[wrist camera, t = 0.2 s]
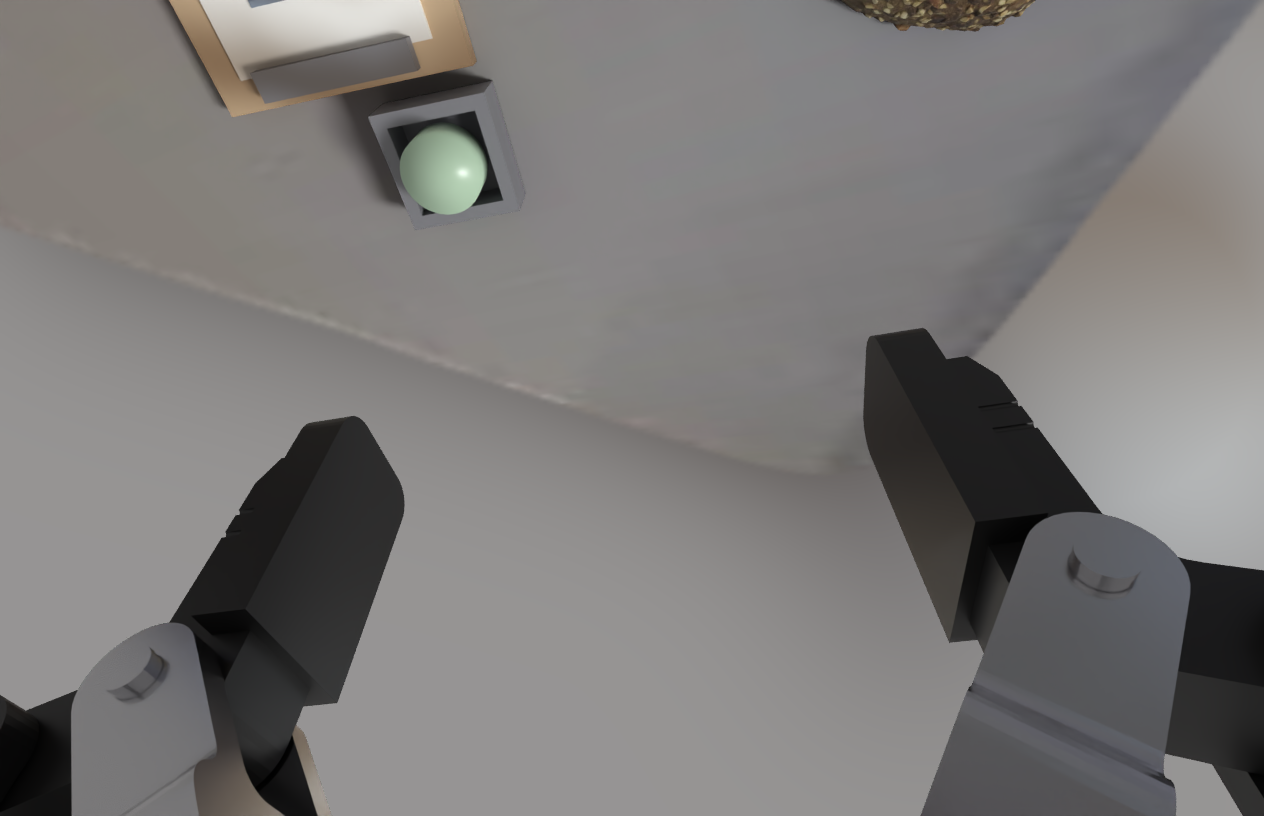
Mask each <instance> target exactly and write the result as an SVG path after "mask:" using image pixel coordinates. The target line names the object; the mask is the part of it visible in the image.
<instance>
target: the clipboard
mask: <svg viewBox="0 0 1264 816" xmlns="http://www.w3.org/2000/svg"><path fill="white" fill-rule="evenodd" d="M169 1H170V3H171V5H172V6H173V8H174V10H175V12H176V14H177V16H178V18H179V19H180V21H181V23H182V25H183V27H184V29H185V30H186V32H187V34H188V36H189V38H190V40H191V42H192V43H193V45H194V47H195V49H196V51H197V53H198V55H199V56H200V58H201V60H202V62H203V64H204V66H205V67H206V69H207V71H208V73H209V75H210V77H211V79H212V80H213V82H214V84H215V86H216V88H217V90H218V92H219V93H220V95H221V97H222V99H223V101H224V103H225V104H226V106H227V108H228V110H229V112H230V114H231V116H232V117H236V116H240V115H245V114H250V113H254V112H259V111H264V110H268V109H273V108H278V107H282V106H287V105H292V104H296V103H301V102H306V101H310V100H315V99H319V98H324V97H329V96H333V95H338V94H343V93H347V92H352V91H357V90H361V89H366V88H371V87H375V86H380V85H385V84H389V83H394V82H399V81H403V80H408V79H412V78H417V77H422V76H426V75H431V74H436V73H440V72H445V71H450V70H454V69H459V68H464V67H468V66H473V65H474V64H475V63H476V57H475V54H474V51H473V47H472V44H471V41H470V38H469V34H468V31H467V28H466V24H465V21H464V18H463V14H462V11H461V8H460V5H459V1H458V0H169Z"/></svg>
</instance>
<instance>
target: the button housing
mask: <svg viewBox="0 0 1264 816" xmlns="http://www.w3.org/2000/svg"><path fill="white" fill-rule="evenodd" d="M368 118H369V121H370V123H371V126H372V128H373V130H374V133H375V135H376V138H377V140H378V142H379V145H380V147H381V150H382V152H383V154H384V157H385V159H386V162H387V164H388V166H389V169H390V171H391V174H392V176H393V178H394V181H395V183H396V186H397V188H398V190H399V193H400V195H401V198H402V200H403V202H404V205H405V207H406V210H407V212H408V214H409V217H410V219H411V222H412V224H413V226H414V229H415V230H419V229H425V228H430V227H435V226H441V225H446V224H451V223H457V222H462V221H467V220H473V219H478V218H483V217H489V216H494V215H499V214H505V213H510V212H515V211H520V209H521V206H522V203H523V200H524V197H525V194H526V193H525V190H524V186H523V183H522V179H521V176H520V173H519V169H518V166H517V162H516V159H515V156H514V152H513V149H512V145H511V142H510V139H509V135H508V132H507V128H506V125H505V122H504V118H503V115H502V111H501V108H500V105H499V101H498V98H497V94H496V91H495V88H494V84H493V81H488V82H483V83H478V84H474V85H469V86H464V87H460V88H455V89H450V90H445V91H441V92H436V93H431V94H426V95H422V96H417V97H412V98H408V99H403V100H398V101H393V102H389V103H384V104H382V105H381V106H380V107H379V108H377V109H376V110H375V111H374V112H373V113H372V114H371V115H369V116H368ZM440 122H444V123H452V124H455V125H458V126H460V127H462V128H464V129H466V130H467V131H468V132H470V133H471V134H472V135H473V136H474V137H475V138H476V139H477V140H478V141H479V143H480V144H481V146H482V148H483V149H484V152H485V154H486V158H487V163H488V173H487V178H486V181H485V183H484V185H483V187H482V189H481V191H480V193H479V195H478V197H477V199H476V201H475V202H474V203H473V204H472V206H470V207H469V208H468V209H466V210H465V211H462V212H460V213H457V214H450V215H446V214H439V213H435V212H432V211H429V210H428V209H426V208H424V207H422V206H421V205H419V204H418V203H417V202H416V201H415V200H414V199H413V198H412V197H411V196H410V194H409V193H408V192H407V190H406V188H405V186H404V184H403V182H402V179H401V175H400V160H401V156H402V153H403V151H404V150H405V148H406V147H407V145H408V144H409V143H410V142H411V141H412V139H413V138H414V137H415V136H416V135H417V134H418V132H420V131H421V130H422V129H423V128H425V127H426V126H428V125H430V124H434V123H440Z"/></svg>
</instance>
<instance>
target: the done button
mask: <svg viewBox="0 0 1264 816" xmlns="http://www.w3.org/2000/svg"><path fill="white" fill-rule="evenodd" d="M487 173H488V163H487V158H486V154H485V152H484V149H483V148H482V146H481V144H480V143H479V141H478V140H477V139H476V138H475V137H474V136H473V135H472V134H471V133H470V132H468V131H467V130H466V129H464V128H462V127H460V126H458V125H455V124H452V123H444V122H440V123H434V124H430V125H428V126H426V127H425V128H423V129H422V130H421V131H420V132H418V134H417V135H416V136H415V137H414V138H413V139H412V141H411V142H410V143H409V144H408V145H407V147H406V148H405V150H404V151H403V153H402V156H401V160H400V175H401V179H402V182H403V184H404V186H405V188H406V190H407V192H408V193H409V194H410V196H411V197H412V198H413V199H414V200H415V201H416V202H417V203H418V204H419V205H421V206H422V207H424V208H426V209H428V210H429V211H432V212H435V213H439V214H446V215H450V214H457V213H460V212H462V211H465V210H466V209H468V208H469V207H470V206H472V204H473V203H474V202H475V201H476V199H477V197H478V195H479V193H480V191H481V189H482V187H483V185H484V183H485V181H486V178H487Z"/></svg>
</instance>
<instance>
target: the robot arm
mask: <svg viewBox="0 0 1264 816" xmlns="http://www.w3.org/2000/svg"><path fill="white" fill-rule="evenodd" d="M1017 402H1018V401H1017V400H1016V398H1015V397H1014V396H1013V394H1012V393H1011V391H1010V390H1009V389H1008V387H1007V386H1006V385H1005V384H1004V382H1003V381H1002V379H1001V378H1000V377H999V376H998V375H997V374H995V373H993V372H992V371H990V370H989V369H987V368H986V367H984V366H982V365H981V364H979V363H977V362H976V361H974V360H973V359H971V358H969V357H968V356H965V357H959V358H952V359H946V358H945V356H944V355H943V353H942V352H941V350H940V349H939V347H938V346H937V344H936V343H935V341H934V340H933V338H932V337H931V335H930V334H929V332H928V331H927V330H926V329H924V328H919V329H913V330H907V331H900V332H894V333H887V334H881V335H875V336H870V337H869V339H868V342H867V347H866V366H865V388H864V411H863V420H864V431H865V437H866V442H867V446H868V449H869V452H870V455H871V458H872V460H873V462H874V465H875V467H876V470H877V472H878V474H879V477H880V479H881V481H882V484H883V486H884V489H885V491H886V493H887V496H888V498H889V500H890V503H891V505H892V508H893V510H894V512H895V515H896V517H897V519H898V522H899V524H900V527H901V529H902V531H903V534H904V536H905V538H906V541H907V543H908V545H909V548H910V550H911V553H912V555H913V557H914V560H915V562H916V564H917V567H918V569H919V572H920V574H921V576H922V578H923V581H924V584H925V586H926V588H927V591H928V593H929V595H930V598H931V600H932V603H933V605H934V607H935V609H936V612H937V614H938V617H939V619H940V622H941V624H942V626H943V628H944V631H945V633H946V636H947V638H948V640H949V643H950V642H960V641H969V640H978V641H979V644H980V646H981V648H982V650H983V652H984V654H983V657H982V660H981V662H980V665H979V668H978V670H977V673H976V676H975V678H974V681H973V683H972V686H970V687H969V689H968V691H967V693H966V696H965V698H964V700H963V703H962V705H961V708H960V711H959V713H958V716H957V719H956V721H955V724H954V727H953V729H952V732H951V735H950V737H949V740H948V743H947V745H946V748H945V751H944V754H943V757H942V759H941V762H940V764H939V767H938V770H937V772H936V775H935V778H934V781H933V783H932V786H931V789H930V791H929V794H928V797H927V799H926V802H925V805H924V808H923V810H922V813H921V816H1176V792H1175V787H1174V784H1173V782H1172V781H1171V780H1169V779H1167V778H1165V776H1164V770H1163V769H1164V756H1165V754H1169V755H1173V756H1178V757H1183V758H1187V759H1191V760H1196V761H1201V762H1205V763H1209V764H1212V765H1213V766H1214V768H1215V770H1216V771H1217V773H1218V775H1219V776H1220V778H1221V780H1222V782H1223V783H1224V785H1225V786H1226V788H1227V790H1228V791H1229V793H1230V795H1231V797H1232V798H1233V800H1234V801H1235V803H1236V805H1237V807H1238V808H1239V810H1240V812H1241V813H1242V815H1243V816H1264V571H1263V570H1256V569H1248V568H1240V567H1233V566H1225V565H1217V564H1211V563H1203V562H1198V561H1192V560H1186V559H1183V558H1179V557H1177V555H1176V554H1175V553H1174V552H1173V551H1172V550H1171V549H1170V548H1169V547H1168V546H1167V545H1166V544H1165V543H1164V542H1162V541H1161V540H1160V539H1158V538H1157V537H1156V536H1154V535H1153V534H1151V533H1149V532H1148V531H1146V530H1144V529H1142V528H1140V527H1138V526H1136V525H1134V524H1132V523H1130V522H1127V521H1124V520H1122V519H1119V518H1116V517H1112V516H1107V515H1104V514H1102V513H1101V511H1100V510H1099V509H1098V508H1097V507H1096V505H1095V504H1094V503H1093V501H1092V500H1091V499H1090V497H1089V496H1088V495H1087V493H1086V492H1085V490H1084V489H1083V488H1082V486H1081V485H1080V484H1079V482H1078V481H1077V480H1076V478H1075V477H1074V476H1073V474H1072V473H1071V472H1070V470H1069V469H1068V468H1067V466H1066V465H1065V464H1064V462H1063V461H1062V460H1061V458H1060V457H1059V456H1058V454H1057V453H1056V452H1055V450H1054V449H1053V448H1052V446H1051V445H1050V444H1049V442H1048V441H1047V440H1046V438H1045V437H1044V436H1043V434H1042V433H1041V432H1040V430H1039V429H1038V428H1034V425H1033V421H1032V420H1031V418H1030V417H1029V416H1028V414H1027V413H1026V412H1025V410H1024V409H1023V407H1022V406H1018V403H1017ZM239 511H240V515H236V516H235V517H234V519H233V520H232V522H231V524H230V525H229V527H228V529H227V530H226V537H224V538H221V540H220V541H219V543H218V545H217V546H216V548H215V550H214V551H213V553H212V554H211V556H210V558H209V559H208V561H207V562H206V564H205V566H204V568H203V569H202V571H201V572H200V574H199V575H198V577H197V579H196V580H195V582H194V584H193V585H192V587H191V588H190V590H189V592H188V593H187V595H186V596H185V598H184V600H183V601H182V603H181V605H180V606H179V608H178V610H177V611H176V613H175V614H174V616H173V617H172V619H171V621H170V622H169V623H163V624H159V625H155V626H152V627H149V628H147V629H144V630H142V631H140V632H138V633H137V634H134V635H133V636H131V637H130V638H128V639H126V640H125V641H123V642H122V643H120V644H119V645H117V646H116V647H115V648H114V649H112V650H111V651H110V652H109V653H108V654H107V655H105V656H104V657H103V658H102V659H101V660H100V661H99V662H98V663H97V664H96V665H95V666H94V667H93V669H92V670H91V671H90V673H89V674H88V675H87V676H86V678H85V679H84V681H83V682H82V684H81V685H80V687H79V689H78V690H76V691H74V692H71V693H69V694H66V695H64V696H61V697H59V698H56V699H54V700H52V701H49V702H46V703H44V704H41V705H39V706H36V707H34V708H32V709H29V710H27V711H25V710H24V709H22V708H20V707H19V706H17V705H15V704H14V703H12V702H11V701H9V700H7V699H6V698H4V697H3V696H1V695H0V816H332V815H331V811H330V808H329V806H328V802H327V799H326V796H325V794H324V790H323V788H322V784H321V781H320V778H319V775H318V772H317V769H316V766H315V764H314V760H313V757H312V754H311V751H310V748H309V745H308V743H307V739H306V737H305V734H304V732H303V731H302V730H301V729H300V728H299V727H298V726H297V725H296V723H297V720H298V718H299V716H300V713H301V710H302V708H303V706H312V705H322V704H331V703H337V702H338V699H339V696H340V693H341V691H342V687H343V685H344V682H345V679H346V677H347V674H348V671H349V668H350V665H351V662H352V660H353V656H354V654H355V651H356V648H357V645H358V643H359V640H360V637H361V634H362V631H363V629H364V626H365V623H366V620H367V617H368V614H369V612H370V609H371V606H372V603H373V600H374V597H375V595H376V592H377V589H378V586H379V583H380V581H381V578H382V575H383V572H384V569H385V566H386V563H387V561H388V558H389V555H390V552H391V549H392V546H393V544H394V541H395V538H396V535H397V532H398V529H399V527H400V524H401V521H402V518H403V514H404V495H403V490H402V486H401V484H400V481H399V479H398V478H397V476H396V474H395V472H394V471H393V469H392V467H391V466H390V464H389V462H388V461H387V459H386V458H385V456H384V454H383V452H382V450H381V449H380V447H379V445H378V444H377V442H376V440H375V439H374V437H373V435H372V434H371V432H370V430H369V428H368V427H367V425H366V424H365V423H364V422H363V421H362V420H361V419H360V418H358V417H356V416H350V417H344V418H338V419H332V420H325V421H319V422H313V423H308V424H306V425H305V426H304V427H303V428H302V430H301V431H300V433H299V434H298V436H297V438H296V440H295V441H294V443H293V445H292V447H291V448H290V450H289V451H288V453H287V455H286V456H285V458H281V459H280V460H279V461H278V462H277V463H276V464H275V465H274V466H273V467H272V468H271V469H270V470H269V471H268V472H267V473H266V474H265V475H264V476H263V477H262V478H261V479H259V480H258V481H257V482H256V483H255V485H254V486H253V488H252V490H251V491H250V493H249V495H248V496H247V498H246V500H245V501H244V503H243V504H242V506H241V508H240V509H239Z"/></svg>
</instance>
